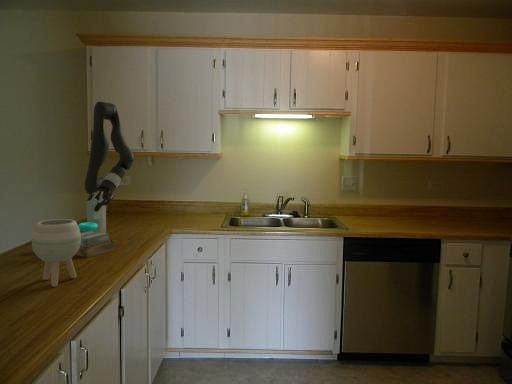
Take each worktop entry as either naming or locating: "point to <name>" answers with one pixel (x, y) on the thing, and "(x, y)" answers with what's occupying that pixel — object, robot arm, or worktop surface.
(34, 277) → the worktop surface
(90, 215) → the brick
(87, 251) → the brown truncated pyramid
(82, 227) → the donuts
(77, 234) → the planter
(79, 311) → the worktop surface
